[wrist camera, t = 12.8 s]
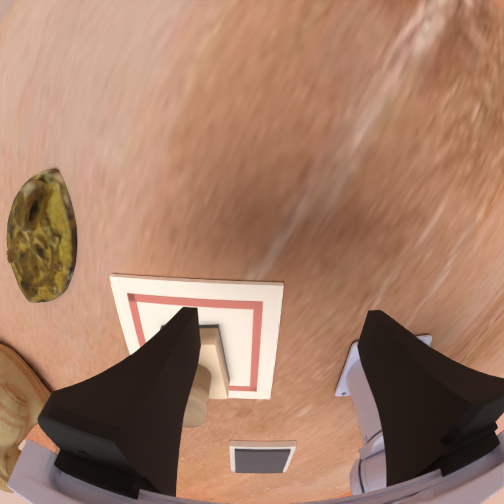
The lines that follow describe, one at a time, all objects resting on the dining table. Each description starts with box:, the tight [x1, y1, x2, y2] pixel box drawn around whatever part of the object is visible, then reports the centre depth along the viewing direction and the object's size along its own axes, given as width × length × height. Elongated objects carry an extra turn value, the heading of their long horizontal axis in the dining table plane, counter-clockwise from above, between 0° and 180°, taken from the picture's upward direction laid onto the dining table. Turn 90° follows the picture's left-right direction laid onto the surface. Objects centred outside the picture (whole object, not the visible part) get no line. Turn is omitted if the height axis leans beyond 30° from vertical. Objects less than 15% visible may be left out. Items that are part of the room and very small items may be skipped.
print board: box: [109, 274, 284, 399], centre depth 23 cm, size 14×14×1 cm
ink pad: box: [229, 440, 296, 473], centre depth 32 cm, size 9×11×2 cm
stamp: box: [160, 324, 230, 428], centre depth 20 cm, size 5×7×7 cm
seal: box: [7, 169, 77, 303], centre depth 18 cm, size 9×5×15 cm
